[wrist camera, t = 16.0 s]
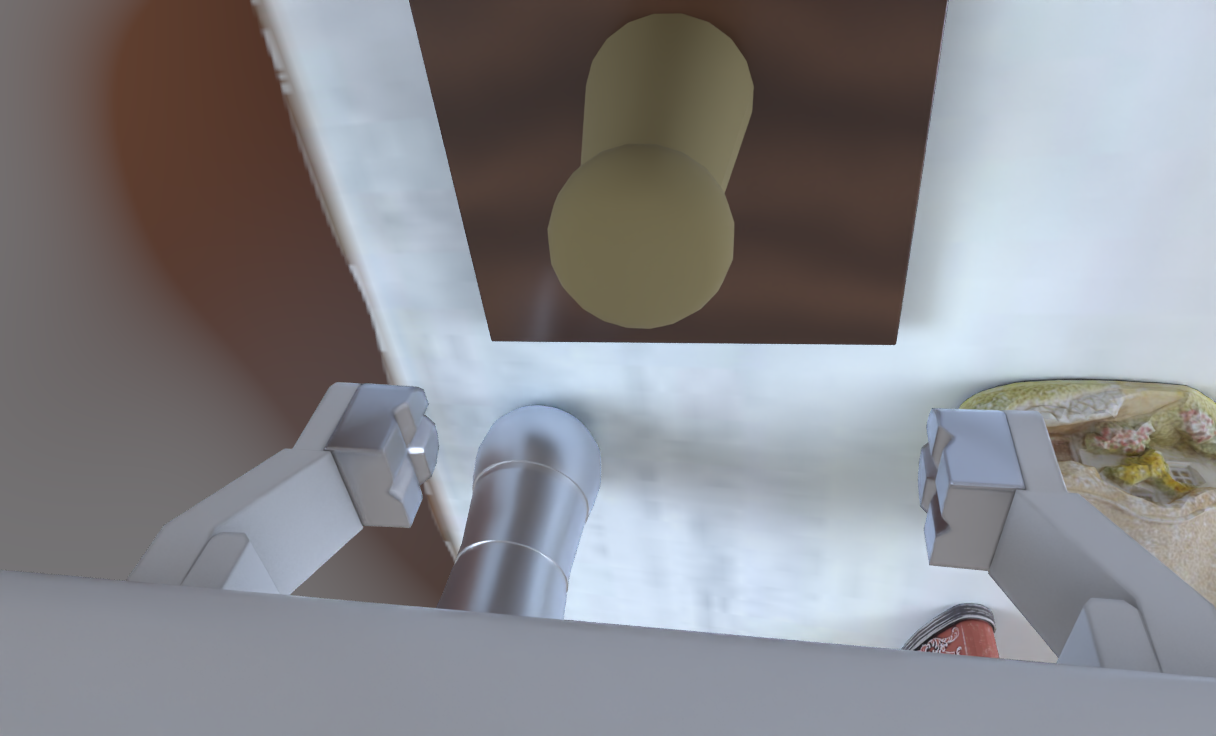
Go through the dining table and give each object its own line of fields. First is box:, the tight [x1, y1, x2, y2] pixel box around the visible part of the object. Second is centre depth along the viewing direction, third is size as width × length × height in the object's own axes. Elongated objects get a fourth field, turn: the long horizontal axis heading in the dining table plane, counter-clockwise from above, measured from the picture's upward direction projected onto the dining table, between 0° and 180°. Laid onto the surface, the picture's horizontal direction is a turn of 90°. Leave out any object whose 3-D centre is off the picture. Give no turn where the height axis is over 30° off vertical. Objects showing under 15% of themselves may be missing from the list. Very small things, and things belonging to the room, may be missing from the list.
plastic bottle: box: [436, 405, 601, 620], centre depth 38 cm, size 6×7×20 cm
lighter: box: [901, 604, 999, 658], centre depth 49 cm, size 8×3×10 cm, turn 162°
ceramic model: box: [959, 380, 1216, 609], centre depth 38 cm, size 14×11×10 cm
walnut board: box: [409, 0, 949, 345], centre depth 32 cm, size 22×18×2 cm
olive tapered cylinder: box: [547, 13, 754, 329], centre depth 27 cm, size 6×6×11 cm
